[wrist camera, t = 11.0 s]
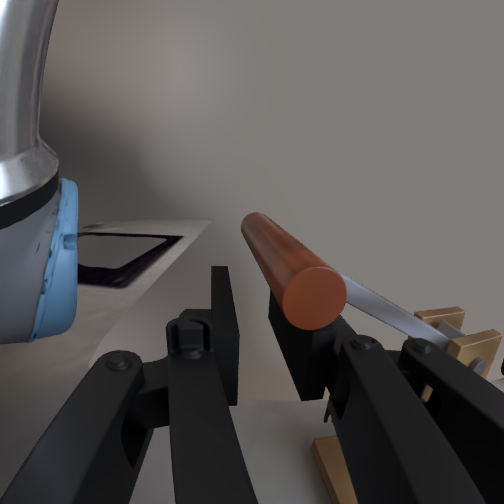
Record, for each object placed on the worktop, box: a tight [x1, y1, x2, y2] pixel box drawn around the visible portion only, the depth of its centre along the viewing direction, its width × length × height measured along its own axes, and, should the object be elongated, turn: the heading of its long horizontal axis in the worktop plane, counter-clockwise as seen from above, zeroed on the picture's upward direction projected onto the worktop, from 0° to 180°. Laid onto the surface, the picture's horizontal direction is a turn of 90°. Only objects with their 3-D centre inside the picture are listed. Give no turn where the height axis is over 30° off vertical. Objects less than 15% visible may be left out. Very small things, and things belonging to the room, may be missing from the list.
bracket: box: [312, 307, 502, 504], centre depth 18 cm, size 13×10×15 cm
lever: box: [241, 212, 466, 352], centre depth 15 cm, size 16×11×2 cm
